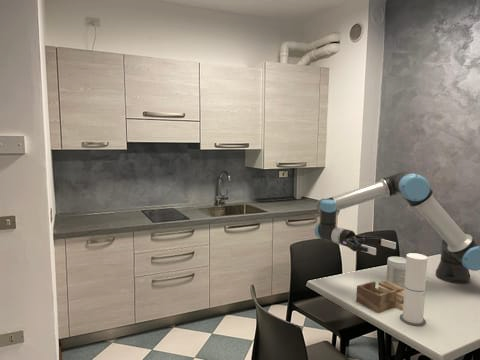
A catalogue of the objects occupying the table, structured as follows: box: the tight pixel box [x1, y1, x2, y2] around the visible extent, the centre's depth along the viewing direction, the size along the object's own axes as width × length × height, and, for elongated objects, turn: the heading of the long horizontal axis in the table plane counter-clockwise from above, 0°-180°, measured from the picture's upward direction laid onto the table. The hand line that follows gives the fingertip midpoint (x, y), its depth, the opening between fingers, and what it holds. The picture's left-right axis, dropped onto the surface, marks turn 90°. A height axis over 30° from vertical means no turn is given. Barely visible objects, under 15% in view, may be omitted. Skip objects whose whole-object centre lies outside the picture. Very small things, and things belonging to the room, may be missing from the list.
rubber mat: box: [399, 313, 427, 327], centre depth 137 cm, size 9×9×1 cm
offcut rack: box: [355, 280, 404, 313], centre depth 150 cm, size 17×15×7 cm
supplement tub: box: [386, 256, 406, 288], centre depth 164 cm, size 10×10×15 cm
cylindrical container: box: [402, 252, 429, 324], centre depth 136 cm, size 7×7×25 cm
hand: (385, 248), depth 145 cm, fingers open, 13 cm apart
